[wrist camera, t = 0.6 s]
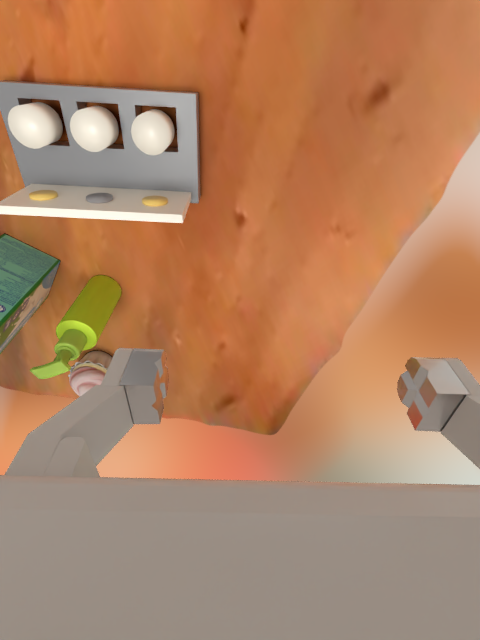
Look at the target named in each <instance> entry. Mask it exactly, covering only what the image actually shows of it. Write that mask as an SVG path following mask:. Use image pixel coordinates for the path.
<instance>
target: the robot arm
mask: <svg viewBox="0 0 480 640" xmlns="http://www.w3.org/2000/svg"><path fill="white" fill-rule="evenodd" d="M166 360H167V357H166V351H165V350H155V349H136V348H134V349H129V348H118V349H117V350H116V351H115V354H114V356H113V358H112V360H111V363H110V365H109V367H108V370H107V372H106V374H105V376H104V379H103V381H102V383H101V385H95V386H94V387H93V388H91V389H90V390H88V391H87V392H86V393H84V394H83V395H82V396H80V397H79V398H77V399H76V400H75V401H73V402H72V403H71V404H69V405H68V406H66V407H65V408H64V409H62V410H61V411H59V412H58V413H57V414H56V415H54V416H53V417H51V418H50V419H48V420H47V421H46V422H44V423H43V424H42V425H40V426H39V427H37V428H36V429H35V430H33V431H32V432H31V433H29V434H28V435H27V437H26V439H25V440H24V442H23V444H22V446H21V448H20V449H19V451H18V452H17V454H16V456H15V458H14V460H13V461H12V463H11V465H10V466H9V468H8V470H7V472H6V473H5V475H0V640H480V485H451V484H401V483H400V484H399V483H349V482H299V481H252V480H203V479H202V480H201V479H155V478H108V477H100V476H99V473H98V471H97V468H96V466H97V465H98V464H99V462H100V461H101V460H102V459H103V458H104V457H105V456H106V455H107V454H108V453H109V452H110V451H111V449H112V448H113V447H114V446H115V445H116V444H117V443H118V441H120V439H122V437H123V436H124V435H125V434H126V433H127V432H128V431H129V430H130V429H131V428H132V427H133V424H160V422H161V417H162V413H163V409H164V404H163V398H165V397H166V395H167V390H168V382H169V374H168V368H167V367H166V366H165V364H166ZM405 366H406V369H407V371H406V372H405V373H403V374H402V375H401V376H400V378H399V380H398V388H397V390H398V395H399V398H400V400H401V402H402V403H403V404H404V405H406V406H407V407H408V408H409V409H408V412H407V415H408V416H409V419H410V420H411V423H412V425H413V427H414V429H415V430H418V431H438V432H441V434H442V435H444V436H445V437H446V438H447V439H448V440H449V441H450V442H451V443H452V444H453V445H454V446H455V447H457V448H458V449H459V450H460V451H461V452H462V453H463V454H464V455H465V456H466V457H468V459H470V460H471V461H472V462H473V463H474V464H475V465H476V466H477V467H478V468H479V469H480V385H479V383H478V382H477V381H476V380H475V378H474V377H473V376H472V374H471V373H470V372H469V370H468V369H467V368H466V366H465V365H464V364H463V362H462V361H461V360H459V359H458V358H416V357H412V358H410V359H409V360H408V361H407V363H406V365H405Z"/></svg>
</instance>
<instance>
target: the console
mask: <svg viewBox="0 0 480 640" xmlns="http://www.w3.org/2000/svg"><path fill="white" fill-rule="evenodd" d="M31 99H45V100H59V101H60V105H61V110H62V114H63V118H64V123H65V127H66V131H67V136H68V140H69V142H68V141H56V142H54V143H51V144H49V145H46V146H44V147H41V148H38V149H33V148H29V147H26V146H24V145H23V144H21V143H20V142H19V141H18V140H17V139H16V138H15V137H14V135H13V134H12V132H11V130H10V128H9V125H8V114H9V112H10V110H11V109H12V108H13V107H15V106H18V105H23V104H29V103H31ZM86 102H94V103H111V104H118V109H119V116H120V123H121V130H122V137H123V143H124V145H121V144H111V145H110V146H108V147H106V148H105V149H103V150H101V151H99V152H90V151H87V150H85V149H84V148H82V147H81V146H80V145H79V144H78V143H77V142H76V141H75V139H74V138H73V136H72V133H71V130H70V120H71V117H72V115H73V114H74V113H75V112H76V111H78V110H80V109H84V108H87V106H86ZM141 105H144V106H160V107H176V122H177V140H178V148H174V147H167V148H166V149H165V151H164V152H162V153H161V154H158V155H148V154H145V153H144V152H142V151H141V150H140V149H139V148H138V147H137V146H136V145H135V143H134V141H133V138H132V134H131V127H132V123H133V121H134V119H135V118H136V117H137V116H138V115H140V114H141ZM0 111H1V114H2V117H3V120H4V123H5V126H6V129H7V132H8V135H9V138H10V141H11V144H12V147H13V150H14V154H15V157H16V160H17V163H18V166H19V169H20V172H21V175H22V178H23V181H24V184H25V188H23V189H21V190H19V191H18V192H16V193H14V194H12V195H11V196H9V197H7V198H5V199H4V200H2V201H0V214H12V215H32V216H52V217H72V218H92V219H112V220H132V221H152V222H172V223H183V221H184V218H185V215H186V213H187V210H188V207H189V204H190V203H199V200H200V149H199V98H198V92H185V91H169V90H153V89H137V88H120V87H104V86H88V85H72V84H56V83H40V82H24V81H8V80H3V81H0Z"/></svg>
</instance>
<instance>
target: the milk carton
mask: <svg viewBox="0 0 480 640" xmlns="http://www.w3.org/2000/svg"><path fill="white" fill-rule="evenodd" d="M59 264H60V260H58V259H56V258H54V257H52V256H50V255H48V254H46V253H43V252H41V251H39V250H37V249H35V248H33V247H31V246H29V245H27V244H25V243H23V242H21V241H19V240H17V239H15V238H12V237H10V236H8V235H6V234H3V235H1V236H0V354H1V353H2V352H3V350H4V349H5V348H6V347H7V346H8V344H9V343H10V342H11V341H12V340H13V338H14V337H15V336H16V335H17V334H18V332H19V331H20V330H21V329H22V328H23V326H24V325H25V324H26V323H27V322H28V320H29V319H30V318H31V317H32V316H33V314H34V313H35V312H36V311H37V309H38V308H39V307H40V306H41V305H42V303H43V302H44V301H45V300H46V299H47V297H48V295H49V292H50V289H51V286H52V283H53V281H54V278H55V275H56V272H57V269H58V267H59Z"/></svg>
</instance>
